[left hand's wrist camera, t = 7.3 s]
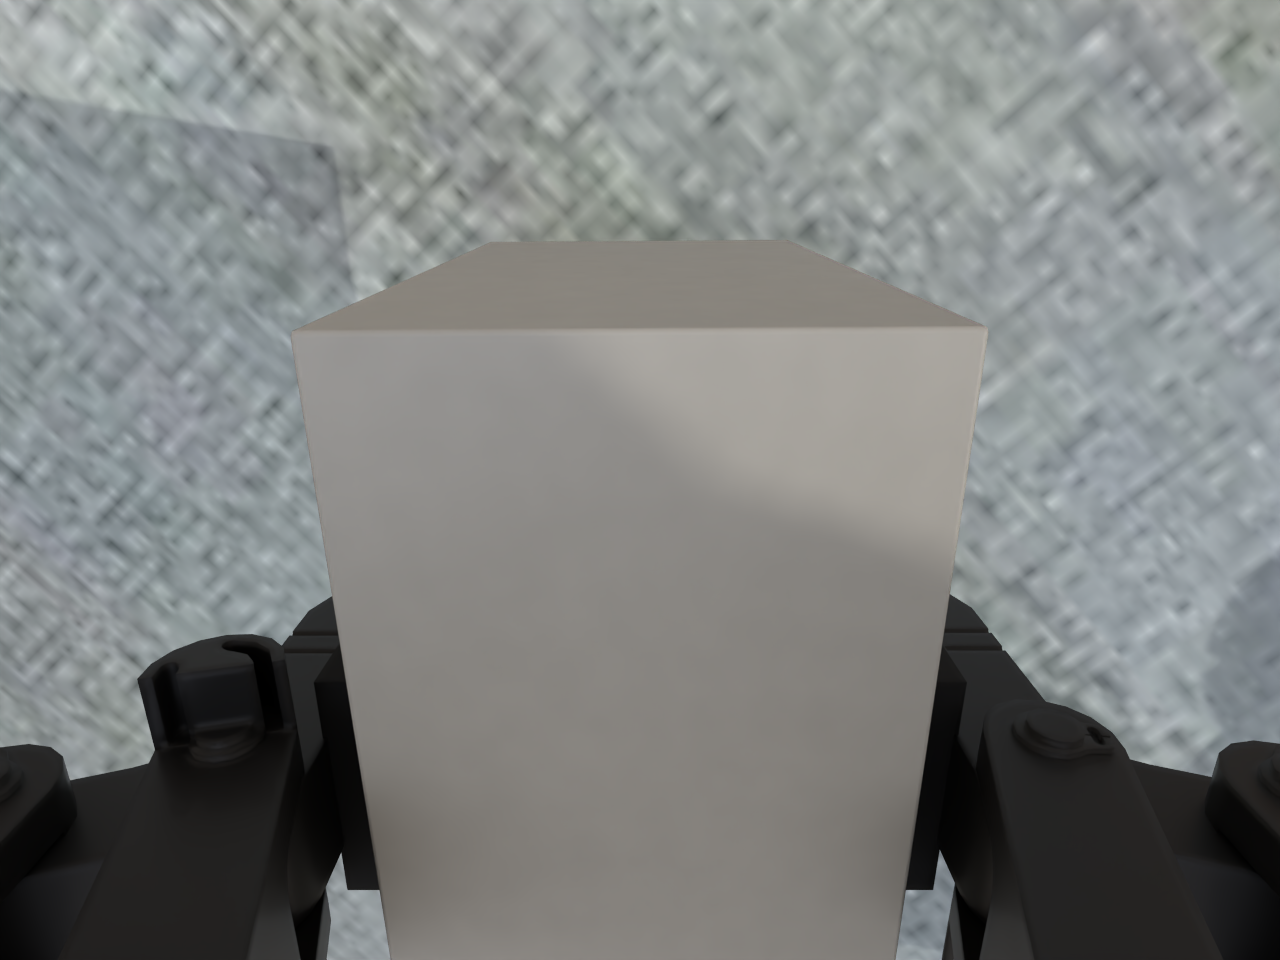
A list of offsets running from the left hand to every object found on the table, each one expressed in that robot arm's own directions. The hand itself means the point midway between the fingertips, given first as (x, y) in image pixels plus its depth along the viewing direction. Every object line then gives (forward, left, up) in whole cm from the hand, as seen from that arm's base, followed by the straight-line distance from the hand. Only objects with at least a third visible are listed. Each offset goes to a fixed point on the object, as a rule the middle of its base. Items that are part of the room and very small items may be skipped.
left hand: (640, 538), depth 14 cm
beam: (-3, +29, -1) cm, 29 cm away
